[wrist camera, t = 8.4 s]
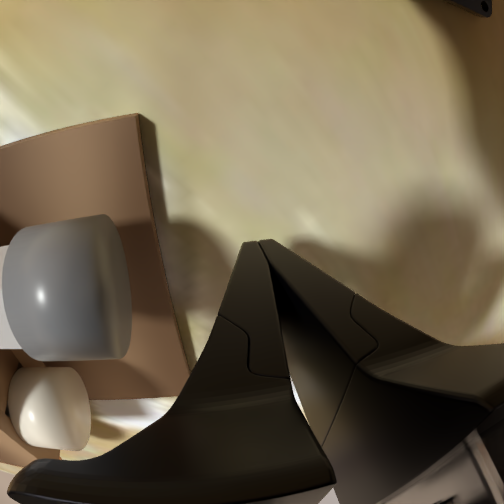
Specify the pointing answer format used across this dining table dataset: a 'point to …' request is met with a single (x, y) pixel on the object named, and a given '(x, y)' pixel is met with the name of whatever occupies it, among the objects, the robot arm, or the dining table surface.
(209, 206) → the dining table surface
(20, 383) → the cream knob
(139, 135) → the walnut mount
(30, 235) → the graphite knob
